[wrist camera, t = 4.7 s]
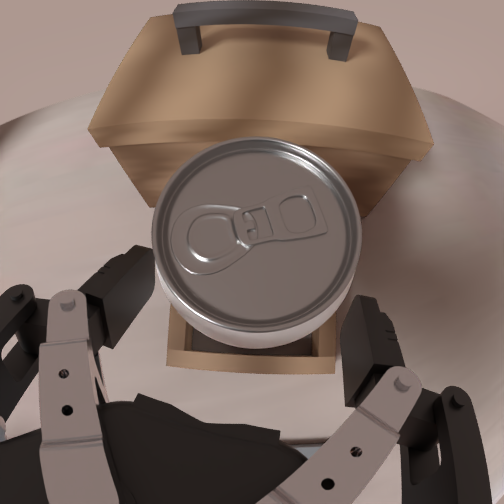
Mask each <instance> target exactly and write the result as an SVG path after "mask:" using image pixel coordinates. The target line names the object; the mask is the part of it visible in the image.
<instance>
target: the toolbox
mask: <svg viewBox="0 0 504 504" xmlns="http://www.w3.org/2000/svg"><path fill="white" fill-rule="evenodd" d="M88 131H89V132H90V134H91V135H92V137H93V138H94V140H95V141H96V143H97V144H98V146H99V147H100V148H101V147H109V148H110V149H111V151H112V152H113V154H114V155H115V157H116V159H117V160H118V162H119V163H120V165H121V166H122V168H123V169H124V171H125V172H126V174H127V175H128V177H129V178H130V180H131V181H132V183H133V184H134V186H135V187H136V188H137V190H138V191H139V193H140V194H141V196H142V197H143V199H144V200H145V202H146V203H147V204H148V206H149V207H156V204H157V202H158V199H159V197H160V195H161V192H162V191H163V189H164V187H165V185H166V184H167V182H168V181H169V179H170V178H171V177H172V175H173V174H174V173H175V172H176V171H177V170H178V169H179V168H180V167H181V166H182V165H183V164H184V163H185V162H186V161H187V160H189V159H190V158H191V157H193V156H194V155H195V154H197V153H199V152H200V151H202V150H204V149H206V148H208V147H210V146H212V145H214V144H217V143H220V142H223V141H226V140H230V139H235V138H241V137H253V136H259V137H271V138H278V139H282V140H286V141H289V142H292V143H295V144H298V145H300V146H303V147H305V148H307V149H309V150H310V151H312V152H314V153H315V154H317V155H318V156H320V157H321V158H323V159H324V160H325V161H326V162H328V163H329V164H330V165H331V166H332V167H333V168H334V169H335V170H336V171H337V172H338V173H339V175H340V176H341V177H342V178H343V180H344V181H345V182H346V184H347V186H348V187H349V189H350V191H351V193H352V195H353V197H354V199H355V201H356V204H357V207H358V210H359V214H360V217H366V216H367V215H368V214H369V213H370V212H371V210H372V209H373V208H374V207H375V205H376V204H377V203H378V202H379V201H380V199H381V198H382V197H383V196H384V194H385V193H386V192H387V191H388V189H389V188H390V187H391V186H392V184H393V183H394V182H395V180H396V179H397V178H398V177H399V175H400V174H401V173H402V172H403V170H404V169H405V168H406V166H407V165H408V164H409V162H410V161H411V160H416V161H421V160H422V159H423V157H424V156H425V155H426V154H427V152H428V151H429V150H430V149H431V147H432V146H433V145H434V142H433V139H432V136H431V134H430V131H429V128H428V125H427V123H426V120H425V117H424V115H423V112H422V110H421V107H420V105H419V103H418V100H417V98H416V96H415V93H414V91H413V89H412V87H411V84H410V82H409V80H408V78H407V76H406V74H405V72H404V70H403V68H402V66H401V64H400V62H399V60H398V58H397V56H396V54H395V52H394V51H393V48H392V47H391V45H390V43H389V41H388V40H387V38H386V36H385V34H384V33H383V31H382V29H381V28H380V27H378V26H374V25H370V24H366V23H362V22H358V19H357V17H356V16H355V14H354V12H353V11H348V10H343V9H337V8H331V7H325V6H318V5H311V4H302V3H292V2H280V1H279V2H278V1H257V0H256V1H255V0H232V1H210V2H196V3H187V4H178V5H177V7H176V9H175V10H174V12H173V14H171V15H163V16H156V17H151V18H150V19H149V20H148V21H147V23H146V24H145V26H144V27H143V29H142V30H141V32H140V33H139V35H138V36H137V38H136V39H135V41H134V42H133V44H132V46H131V47H130V49H129V51H128V52H127V54H126V55H125V57H124V59H123V60H122V62H121V64H120V65H119V67H118V69H117V71H116V72H115V74H114V76H113V78H112V80H111V82H110V84H109V85H108V87H107V89H106V91H105V93H104V95H103V97H102V99H101V101H100V103H99V105H98V107H97V109H96V111H95V114H94V116H93V118H92V120H91V122H90V125H89V127H88ZM192 337H193V326H191V325H190V324H189V323H188V322H187V321H186V320H185V319H184V318H183V317H182V316H181V315H180V314H179V313H178V312H177V310H176V309H175V308H174V307H173V305H172V304H171V306H170V318H169V330H168V345H167V362H166V366H172V367H180V368H189V369H198V370H209V371H221V372H236V373H256V374H335V357H336V311H335V312H334V314H333V315H332V316H331V317H330V318H329V319H328V320H327V321H326V322H325V323H323V324H322V325H321V326H320V327H319V328H317V329H316V330H314V331H313V332H312V346H311V356H296V355H256V354H236V353H221V352H208V351H197V350H192Z"/></svg>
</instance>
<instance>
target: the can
mask: <svg viewBox="0 0 504 504" xmlns="http://www.w3.org/2000/svg"><path fill="white" fill-rule="evenodd" d="M361 245H362V226H361V219H360V214H359V210H358V207H357V204H356V201H355V199H354V197H353V195H352V193H351V191H350V189H349V187H348V186H347V184H346V182H345V181H344V180H343V178H342V177H341V176H340V175H339V173H338V172H337V171H336V170H335V169H334V168H333V167H332V166H331V165H330V164H329V163H328V162H326V161H325V160H324V159H323V158H321V157H320V156H318V155H317V154H315V153H314V152H312V151H310V150H309V149H307V148H305V147H303V146H300V145H298V144H295V143H292V142H289V141H286V140H282V139H278V138H271V137H259V136H253V137H241V138H235V139H230V140H226V141H223V142H220V143H217V144H214V145H212V146H210V147H208V148H206V149H204V150H202V151H200V152H199V153H197V154H195V155H194V156H193V157H191V158H190V159H189V160H187V161H186V162H185V163H184V164H183V165H182V166H181V167H180V168H179V169H178V170H177V171H176V172H175V173H174V174H173V175H172V177H171V178H170V179H169V181H168V182H167V184H166V185H165V187H164V189H163V191H162V192H161V195H160V197H159V199H158V202H157V204H156V207H155V211H154V215H153V221H152V248H153V253H154V257H155V261H156V268H157V272H158V276H159V279H160V282H161V285H162V287H163V290H164V292H165V294H166V296H167V297H168V299H169V301H170V302H171V304H172V305H173V307H174V308H175V309H176V310H177V312H178V313H179V314H180V315H181V316H182V317H183V318H184V319H185V320H186V321H187V322H188V323H189V324H190V325H191V326H193V327H194V328H195V329H197V330H198V331H200V332H201V333H203V334H204V335H206V336H208V337H210V338H212V339H214V340H216V341H219V342H222V343H225V344H228V345H232V346H236V347H241V348H251V349H261V348H271V347H277V346H281V345H285V344H288V343H291V342H294V341H296V340H298V339H301V338H303V337H305V336H306V335H308V334H310V333H311V332H313V331H314V330H316V329H317V328H319V327H320V326H321V325H322V324H323V323H325V322H326V321H327V320H328V319H329V318H330V317H331V316H332V315H333V314H334V312H335V311H336V310H337V309H338V307H339V306H340V305H341V303H342V302H343V300H344V298H345V297H346V295H347V293H348V291H349V288H350V286H351V283H352V281H353V277H354V273H355V269H356V267H357V264H358V260H359V257H360V252H361Z"/></svg>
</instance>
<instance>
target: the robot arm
mask: <svg viewBox="0 0 504 504" xmlns="http://www.w3.org/2000/svg"><path fill="white" fill-rule="evenodd" d="M154 286H155V257H154V253H153V249H151V248H147V247H143V246H138V245H134V246H133V247H132V248H131V249H130V250H129V251H128V252H127V253H126V254H120V255H118V256H116V257H114V258H111V259H110V260H109V261H108V262H107V263H106V264H105V265H104V267H101V268H100V269H99V270H98V272H96V273H95V274H94V275H93V276H92V277H91V278H90V279H89V280H88V281H86V282H85V283H84V284H83V285H82V286H81V287H80V288H79V289H78V290H64V291H61V292H59V293H57V294H55V295H54V296H53V297H52V298H51V300H48V299H39V298H35V295H34V292H33V289H32V288H31V287H30V286H28V285H25V284H20V285H15V286H13V287H11V288H9V289H8V290H6V291H5V292H4V293H3V294H2V295H1V296H0V504H352V503H353V501H354V500H355V499H356V498H357V497H358V495H359V494H360V493H361V492H362V490H363V489H364V488H365V487H366V485H367V484H368V483H369V481H370V480H371V479H372V478H373V476H374V475H375V473H376V472H377V471H378V469H379V468H380V467H381V465H382V464H383V462H384V461H385V459H386V458H387V456H388V455H389V453H390V452H391V450H392V449H393V447H394V446H395V444H396V443H397V444H400V454H401V477H402V504H492V497H491V489H490V482H489V475H488V469H487V463H486V458H485V453H484V448H483V444H482V439H481V435H480V431H479V427H478V423H477V419H476V415H475V412H474V408H473V405H472V402H471V399H470V397H469V396H468V394H467V393H466V392H465V391H464V390H462V389H461V388H459V387H456V386H449V387H446V388H445V389H444V390H443V391H442V393H441V394H437V393H435V392H432V391H429V390H426V389H424V388H422V385H421V381H420V379H419V378H418V376H417V375H416V374H415V373H414V372H412V371H411V370H409V369H407V368H406V367H405V364H404V360H403V356H402V353H401V349H400V346H399V343H398V342H397V340H398V339H397V336H396V334H395V330H394V327H393V323H392V321H391V320H390V319H389V318H388V316H387V315H386V314H385V313H383V312H380V310H379V307H378V304H377V300H376V299H375V298H372V297H367V296H362V295H356V296H355V298H354V300H353V302H352V305H351V307H350V309H349V312H348V314H347V316H346V319H345V321H344V323H343V326H342V329H341V333H340V345H341V356H342V368H343V382H344V398H345V407H355V408H356V410H355V411H354V412H353V413H352V414H351V415H350V416H349V418H348V419H347V420H346V421H345V422H344V423H343V424H342V425H341V426H340V428H339V429H338V430H337V431H336V432H335V433H334V434H333V435H332V436H331V437H330V438H329V439H328V440H327V441H326V442H325V443H324V444H323V445H322V446H321V447H320V448H319V449H318V450H317V451H316V452H315V453H314V454H313V455H312V456H311V457H310V458H309V459H307V457H306V456H304V455H303V454H302V453H301V452H300V451H298V450H297V449H295V448H294V447H292V446H290V445H288V444H286V443H285V442H282V441H280V440H279V438H280V431H279V430H273V429H267V428H262V427H257V426H251V425H247V424H214V423H204V422H202V421H199V420H198V419H196V418H194V417H192V416H190V415H188V414H187V413H185V412H183V411H181V410H180V409H178V408H176V407H174V406H173V405H171V404H168V403H165V402H162V401H159V400H156V399H153V398H150V397H148V396H145V395H142V394H139V393H138V395H137V397H136V398H135V400H134V402H131V401H115V402H109V399H108V395H107V391H106V386H105V381H104V376H103V370H102V365H101V359H100V353H99V349H100V348H101V347H102V345H103V346H106V347H108V348H111V349H114V347H115V346H116V344H117V343H118V341H119V340H120V338H121V337H122V336H123V334H124V333H125V331H126V330H127V329H128V327H129V326H130V324H131V323H132V322H133V320H134V319H135V317H136V316H137V315H138V313H139V312H140V310H141V309H142V308H143V306H144V305H145V304H146V302H147V301H148V300H149V298H150V297H151V295H152V293H153V290H154ZM14 334H16V337H17V339H18V342H17V343H16V345H15V346H14V347H13V348H12V349H11V351H10V352H9V353H8V355H7V356H6V357H5V358H4V360H3V361H2V358H1V352H2V349H3V347H4V346H5V344H6V343H7V342H8V341H9V340H10V338H11V337H12V336H13V335H14ZM38 372H39V405H40V420H41V428H40V429H37V430H34V431H31V432H29V433H26V434H23V435H20V436H17V437H14V438H11V439H8V440H7V436H6V434H5V432H6V425H5V423H6V421H7V419H8V418H9V416H10V414H11V413H12V411H13V410H14V408H15V406H16V405H17V403H18V402H19V400H20V398H21V397H22V395H23V394H24V392H25V391H26V389H27V388H28V386H29V385H30V383H31V382H32V380H33V379H34V377H35V376H36V374H37V373H38ZM438 443H439V444H440V451H441V465H440V464H439V456H438V448H437V444H438Z"/></svg>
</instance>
